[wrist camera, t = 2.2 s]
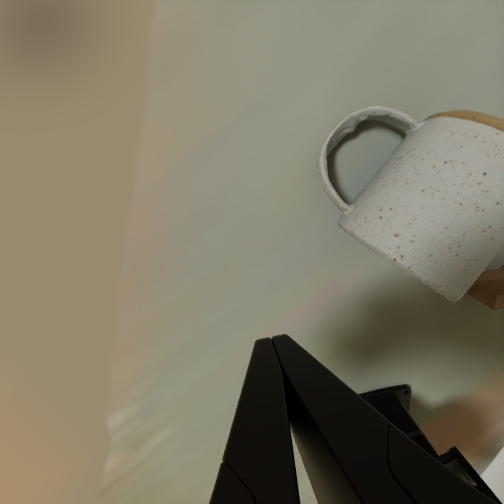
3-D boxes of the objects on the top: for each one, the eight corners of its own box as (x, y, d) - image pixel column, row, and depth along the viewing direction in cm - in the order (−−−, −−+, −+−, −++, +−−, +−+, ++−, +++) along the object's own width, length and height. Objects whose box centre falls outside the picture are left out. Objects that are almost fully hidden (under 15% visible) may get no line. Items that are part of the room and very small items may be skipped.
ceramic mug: (474, 169, 20) (615, 191, 13) (395, 264, 22) (480, 327, 15) (362, 69, 17) (471, 26, 10) (282, 191, 19) (324, 228, 12)
